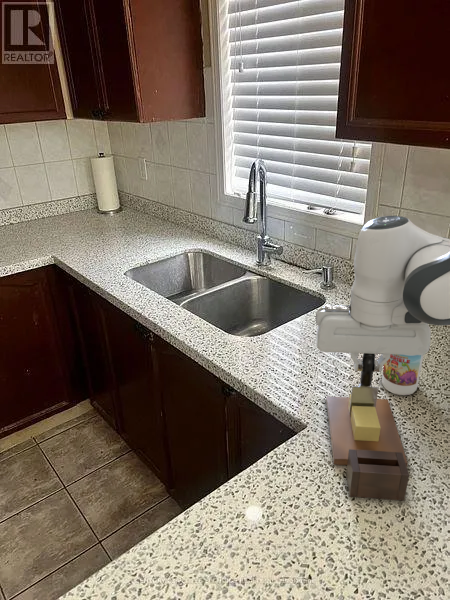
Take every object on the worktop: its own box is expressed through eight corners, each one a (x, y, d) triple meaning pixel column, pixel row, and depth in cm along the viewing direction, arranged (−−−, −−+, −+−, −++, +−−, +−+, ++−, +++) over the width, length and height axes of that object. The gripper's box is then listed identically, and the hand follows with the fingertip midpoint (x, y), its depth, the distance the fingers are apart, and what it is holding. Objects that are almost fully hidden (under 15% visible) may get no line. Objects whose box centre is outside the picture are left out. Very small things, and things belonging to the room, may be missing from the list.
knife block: (397, 477, 80) (402, 452, 77) (404, 500, 75) (409, 475, 73) (346, 473, 81) (348, 448, 78) (349, 496, 76) (352, 471, 74)
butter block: (373, 420, 91) (375, 406, 89) (378, 441, 85) (380, 427, 84) (350, 419, 91) (351, 405, 90) (354, 440, 86) (356, 426, 84)
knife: (373, 411, 92) (382, 347, 85) (375, 418, 90) (384, 354, 83) (348, 410, 93) (355, 346, 86) (350, 417, 91) (356, 353, 84)
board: (387, 404, 97) (387, 399, 96) (406, 469, 81) (407, 463, 80) (326, 401, 99) (326, 396, 98) (333, 464, 83) (334, 458, 82)
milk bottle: (387, 372, 108) (398, 297, 99) (420, 382, 104) (435, 306, 95) (376, 388, 102) (387, 311, 93) (411, 400, 98) (426, 321, 89)
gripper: (317, 313, 79) (313, 377, 85) (439, 315, 76) (426, 381, 82) (315, 297, 84) (312, 358, 91) (429, 299, 82) (417, 362, 88)
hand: (367, 369), depth 86 cm, fingers closed on knife, 2 cm apart
